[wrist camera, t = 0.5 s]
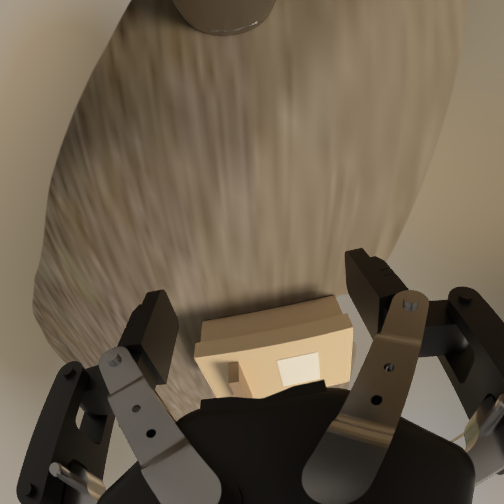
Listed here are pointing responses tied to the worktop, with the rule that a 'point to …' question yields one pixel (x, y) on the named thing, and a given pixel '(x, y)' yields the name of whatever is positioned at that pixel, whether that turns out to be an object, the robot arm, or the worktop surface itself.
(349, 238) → the worktop surface
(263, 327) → the box
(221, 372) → the lid
